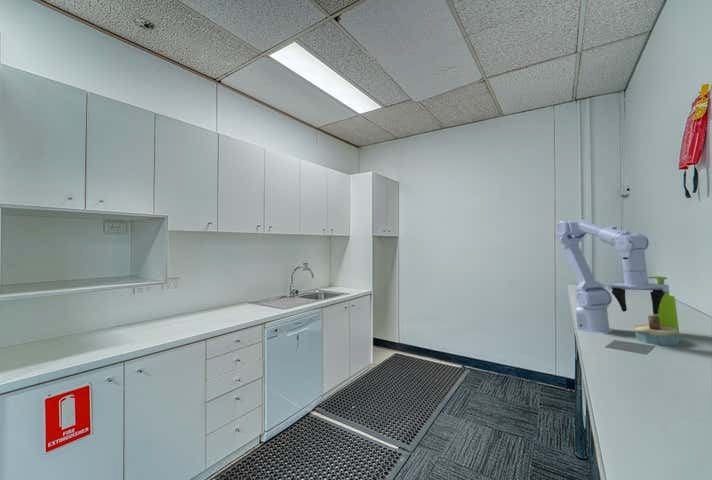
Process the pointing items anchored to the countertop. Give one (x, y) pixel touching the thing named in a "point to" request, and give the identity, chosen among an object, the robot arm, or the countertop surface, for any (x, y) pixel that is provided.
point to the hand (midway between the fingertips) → (639, 312)
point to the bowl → (657, 339)
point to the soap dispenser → (667, 308)
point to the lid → (655, 328)
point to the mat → (630, 347)
